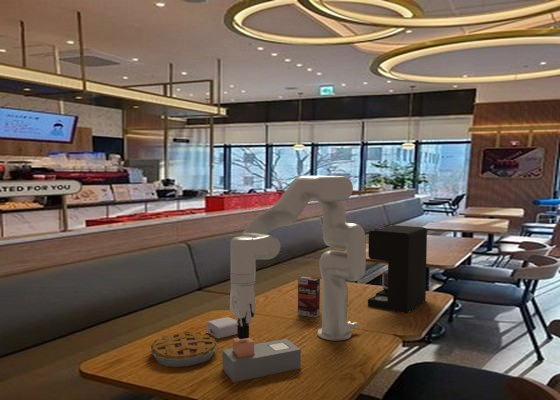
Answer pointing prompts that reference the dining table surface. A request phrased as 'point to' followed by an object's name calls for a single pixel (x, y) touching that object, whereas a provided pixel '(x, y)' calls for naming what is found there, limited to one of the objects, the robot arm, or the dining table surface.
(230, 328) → the charger
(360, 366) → the dining table surface
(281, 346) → the beige plunger
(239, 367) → the button box
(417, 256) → the coffee maker
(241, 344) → the terracotta plunger
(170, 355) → the pie
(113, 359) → the dining table surface
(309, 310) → the supplement box
